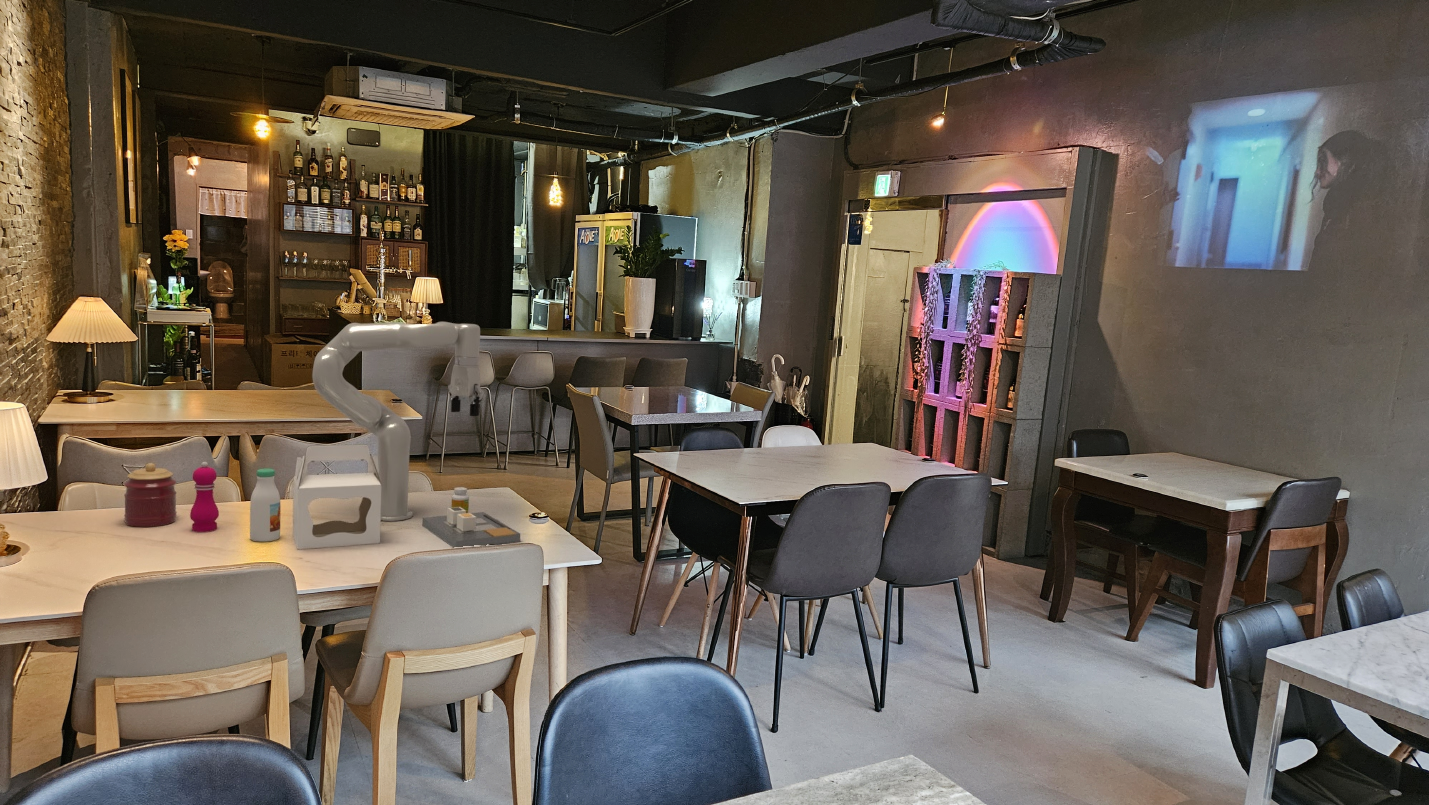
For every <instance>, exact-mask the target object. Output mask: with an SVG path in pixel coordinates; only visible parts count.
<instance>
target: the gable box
mask: <svg viewBox="0 0 1429 805" xmlns="http://www.w3.org/2000/svg"><path fill="white" fill-rule="evenodd" d="M305 450H306V452H305V455H303V456H302V457H301V456H297V457H296V461H295V462H296V463H295V471H294V472H295V473H294V476H293V482H292V483H293V490H292V492H293V494H292V495H293V497H292V498H293V499H292V538H293V542H294V544H295V547H296V549H297V550H308V549H309V550H310V549H321V548H324V549H325V548H336V547H337V548H338V547H351V546H359V545H360V546H361V545H362V546H363V545H376V544H381V521H382V520H381V487H382V484H381V482H380V479H379V476H378V473H379V469H378V454H373V455H372V453H370V447H369V445H368V444H364V443H362V444H361V443H360V444H324V445H323V444H319V445H316V444H315V445H313V444H312V445H308V446H307V447H306V449H305ZM337 461H341V462H342V461H365V462H366V463H367V464H366V467H367V469H366V471H367V472H354V473H353V472H351V473H349V472H348V473H328V474H326V473H324V474H322V473H321V474H308V465H309V464H310V463H315V462H337ZM355 498H362V499H361V502H360V504H359V507H358V513H359V518H358V520H357V521H355V522H354V521H353V522H349V521H343V520H329V521H325V522H321V523H317V524H314V521H313V519H312V518H313V517H312V516H311V513H310V507H309V506H310V503H312V502H313V501H316V500H319V499H335V500H336V499H338V500H350V499H355Z"/></svg>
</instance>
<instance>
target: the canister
mask: <svg viewBox="0 0 1429 805" xmlns="http://www.w3.org/2000/svg"><path fill="white" fill-rule="evenodd" d="M173 475H174V473H173V472H172V471H169V470H168V469H166V468H164V467H163V468H162V467H160V468H159V467H157V466H156V464H155V463H152V462H148V463H147V464H145V467H144V468H140V469H139V468H138V469H135V470H133V471H132V472H130V473H129V474H127V478H128V480H126V481H125V482H124V483H123V485H124V487H125V488H126V489H125V493H124V496H123V497H124V515H123V516H124V518H123V519H124V521H125V524H126V525H127V526H131V527H139V528H147V527H148V528H149V527H150V528H151V527H159V526H165V525H166V526H167V525H168V524H172V523H174V522H175V521H176V518H177V498H176V497H177V491H176V490H175V489H176V488H175V485H176V484H177V480H176V479H174V478H173Z"/></svg>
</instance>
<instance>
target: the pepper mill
mask: <svg viewBox="0 0 1429 805" xmlns="http://www.w3.org/2000/svg"><path fill="white" fill-rule="evenodd" d="M200 466H201V467H198V468H196V469H195V470H193V473H192V479H193V481H194V482H195V484H194V489H195V491H196V496H195V499H194V500H195V501H194V503H193V506H192V507H191V509H190V514H189V518H190V520H191V521H193V523H192V524H191V531H192V532H195V533H208V532H209V533H210V532H213V531H215V530H217V529H218V523H217V522H216V520H217V519H218V518H219V515H220V512H219V509H218V506H217V504H216V502H215V499H214V489H215V488H216V487H215V483H214V482H215V481H216V479H217V472H216V470H215V468H213V467H210V466H209V463H208V462H207V461H203V462H201V464H200Z"/></svg>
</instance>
